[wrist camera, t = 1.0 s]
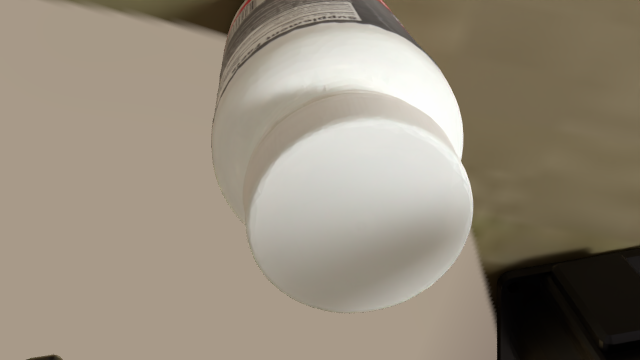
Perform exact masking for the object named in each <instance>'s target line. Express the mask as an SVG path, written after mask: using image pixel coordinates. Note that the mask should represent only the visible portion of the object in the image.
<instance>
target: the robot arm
mask: <svg viewBox="0 0 640 360" xmlns="http://www.w3.org/2000/svg"><path fill="white" fill-rule="evenodd" d="M511 283H515V284H514V285H512V286H509V285H510V284H511ZM27 360H63V359H62V358H61V357H60V356H57V355H48V356H42V357H35V358H30V359H27ZM497 360H640V249H634V250H629V251H623V252H617V253H612V254H606V255H600V256H594V257H589V258H583V259H577V260H572V261H566V262H560V263H554V264H549V265H543V266H537V267H532V268H526V269H520V270H514V271H509V272H506V273H504V274H503V275H501V276H500V278H499V279H498V282H497Z"/></svg>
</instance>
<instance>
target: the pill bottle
mask: <svg viewBox="0 0 640 360" xmlns="http://www.w3.org/2000/svg"><path fill="white" fill-rule="evenodd" d="M211 147H212V158H213V165H214V170H215V175H216V178H217V181H218V184H219V187H220V189H221V192H222V194H223V196H224V198H225V199H226V201H227V203H228V205H229V206H230V208H231V209H232V211H233V212H234V213H235V214H236V216H237V217H238V218H239V219H240V220H241V221H242V223H243V224H244V225H246V233H247V239H248V243H249V246H250V249H251V252H252V254H253V257H254V259H255V261H256V263H257V265H258V267H259V268H260V270H261V271H262V272H263V274H264V275H265V276H266V278H267V279H268V280H269V281H270V282H271V283H272V284H273V285H274V286H276V287H277V288H278V289H279V290H280V291H281V292H283V293H284V294H286V295H287V296H289V297H290V298H292V299H294V300H296V301H298V302H300V303H303V304H306V305H308V306H310V307H313V308H317V309H321V310H325V311H330V312H338V313H359V312H360V313H361V312H362V313H364V312H370V311H375V310H379V309H384V308H388V307H391V306H394V305H397V304H400V303H402V302H404V301H407V300H409V299H411V298H412V297H414V296H416V295H418V294H419V293H421V292H422V291H424V290H426V289H427V288H429V287H430V286H431V285H432V284H434V283H435V282H436V281H437V280H438V279H439V278H440V277H441V276H443V275H444V274H445V273H446V271H447V270H448V269H449V268H450V267H451V266H452V265H453V263H454V262H455V261H456V259H457V258H458V256H459V254H460V252H461V251H462V249H463V247H464V245H465V242H466V240H467V237H468V235H469V232H470V228H471V224H472V216H473V197H472V191H471V186H470V182H469V179H468V176H467V173H466V171H465V168H464V167H463V165H462V163H461V157H462V150H463V126H462V119H461V115H460V110H459V107H458V104H457V101H456V98H455V96H454V94H453V92H452V90H451V88H450V86H449V84H448V82H447V80H446V79H445V77H444V75H443V74H442V72H441V70H440V69H439V67H438V65H437V64H436V63H435V61H434V60H433V59H432V58H431V57H430V56H429V55H428V54H427V53H426V52H425V51H424V50H423V49H422V48H421V47H420V46H419V45H418V44H417V43H416V42H415V40H414V39H413V38H412V37H411V36H410V34H409V33H408V32H407V30H406V29H405V28H404V27H403V25H402V24H401V23H400V22H399V20H398V19H397V18H396V16H395V15H394V14H393V13H392V12H391V10H390V9H389V8H388V6H387V5H386V4H385V3H384V2H383V1H382V0H245V1H244V3H243V4H242V5H241V7H240V8H239V10H238V11H237V13H236V15H235V17H234V19H233V21H232V24H231V26H230V30H229V33H228V36H227V40H226V45H225V49H224V55H223V62H222V69H221V73H220V83H219V89H218V93H217V102H216V108H215V115H214V119H213V126H212V140H211Z"/></svg>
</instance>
